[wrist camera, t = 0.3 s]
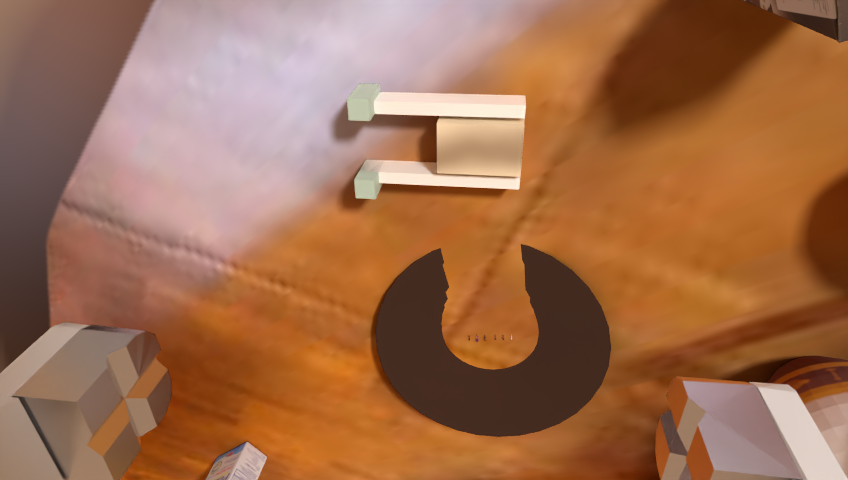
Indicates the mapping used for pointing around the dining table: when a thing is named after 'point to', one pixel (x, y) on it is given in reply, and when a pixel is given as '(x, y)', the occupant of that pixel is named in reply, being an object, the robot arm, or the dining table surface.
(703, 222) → the dining table surface
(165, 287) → the dining table surface
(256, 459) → the medicine box
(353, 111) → the green-tipped fork clamp
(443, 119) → the maple block
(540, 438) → the dining table surface
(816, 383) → the jug
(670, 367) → the dining table surface
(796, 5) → the coffee box
